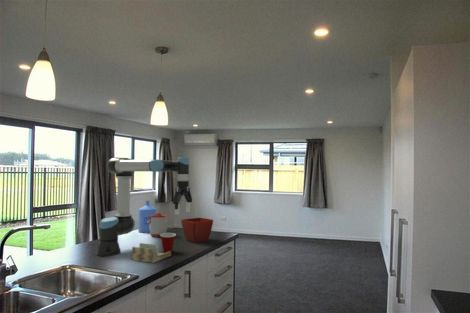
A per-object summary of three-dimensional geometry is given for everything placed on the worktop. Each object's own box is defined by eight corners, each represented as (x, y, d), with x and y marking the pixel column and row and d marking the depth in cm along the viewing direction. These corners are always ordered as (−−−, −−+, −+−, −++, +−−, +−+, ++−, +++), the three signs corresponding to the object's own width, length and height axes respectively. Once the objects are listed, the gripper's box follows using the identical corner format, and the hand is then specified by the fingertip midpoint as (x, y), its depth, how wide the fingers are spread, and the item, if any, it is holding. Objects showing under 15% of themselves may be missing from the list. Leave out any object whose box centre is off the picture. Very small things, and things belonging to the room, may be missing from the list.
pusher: (139, 255, 221) (139, 243, 221) (140, 255, 222) (140, 243, 222) (157, 258, 215) (157, 245, 216) (157, 257, 216) (158, 244, 217)
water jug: (134, 232, 313) (135, 201, 314) (146, 229, 327) (147, 199, 328) (147, 233, 306) (148, 201, 307) (159, 230, 320) (159, 200, 321)
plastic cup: (160, 253, 232) (160, 235, 232) (159, 250, 242) (159, 233, 242) (176, 252, 234) (176, 235, 235) (174, 249, 245) (175, 232, 245)
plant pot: (180, 240, 277) (180, 219, 277) (199, 237, 289) (199, 217, 290) (193, 244, 262) (194, 222, 263) (213, 241, 275) (213, 219, 276)
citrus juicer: (145, 235, 299) (145, 211, 300) (165, 233, 306) (165, 211, 307) (148, 238, 285) (149, 213, 286) (169, 236, 292) (169, 212, 293)
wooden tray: (130, 259, 216) (131, 247, 216) (149, 253, 233) (149, 241, 234) (153, 262, 209) (153, 249, 209) (170, 255, 227) (171, 243, 227)
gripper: (177, 181, 214) (177, 215, 213) (197, 180, 237) (197, 211, 236) (167, 181, 217) (166, 215, 216) (187, 180, 240) (187, 210, 239)
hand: (182, 213), depth 226 cm, fingers open, 13 cm apart
